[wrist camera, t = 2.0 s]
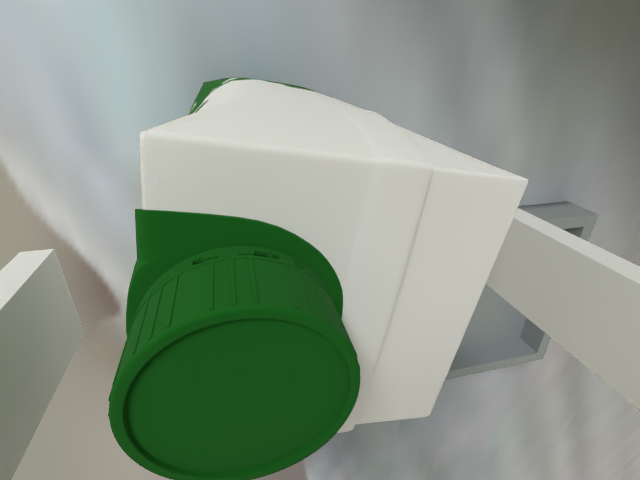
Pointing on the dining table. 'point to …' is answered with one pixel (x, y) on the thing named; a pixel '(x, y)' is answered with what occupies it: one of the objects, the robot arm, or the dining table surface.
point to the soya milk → (294, 278)
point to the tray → (513, 310)
